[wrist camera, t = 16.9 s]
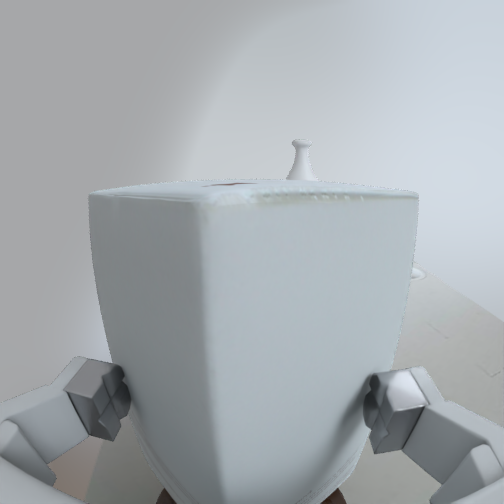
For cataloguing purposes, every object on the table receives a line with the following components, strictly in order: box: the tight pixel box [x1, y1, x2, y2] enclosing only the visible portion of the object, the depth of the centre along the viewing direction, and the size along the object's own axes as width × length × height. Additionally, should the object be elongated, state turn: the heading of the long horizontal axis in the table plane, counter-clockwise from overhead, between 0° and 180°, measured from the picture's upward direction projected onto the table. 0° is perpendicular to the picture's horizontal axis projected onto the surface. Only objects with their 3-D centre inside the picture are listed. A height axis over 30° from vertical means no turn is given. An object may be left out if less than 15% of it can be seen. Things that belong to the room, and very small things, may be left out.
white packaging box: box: [89, 179, 419, 504], centre depth 9 cm, size 7×7×13 cm
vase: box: [286, 139, 318, 181], centre depth 78 cm, size 17×17×25 cm
